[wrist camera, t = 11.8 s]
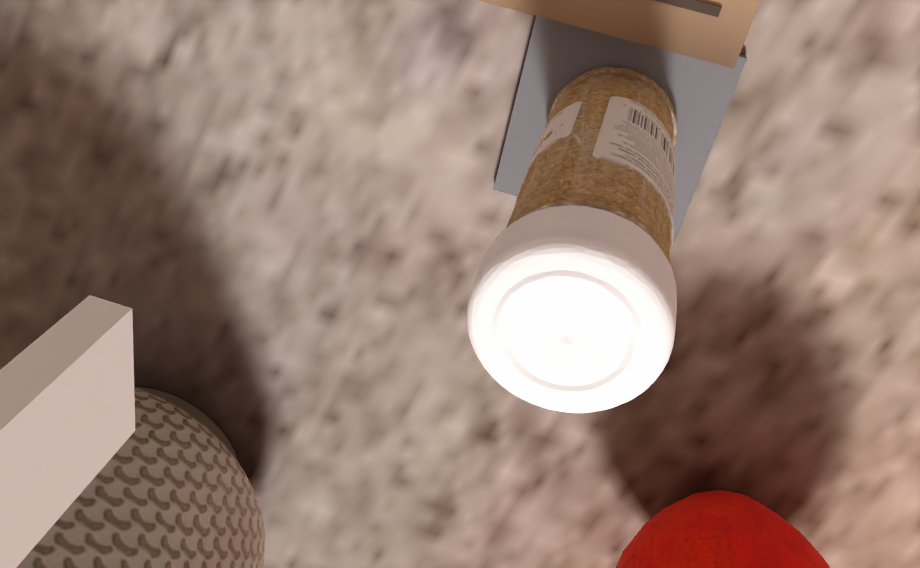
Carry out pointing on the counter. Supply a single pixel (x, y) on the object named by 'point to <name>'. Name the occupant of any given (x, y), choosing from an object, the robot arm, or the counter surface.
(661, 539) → the apple
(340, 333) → the counter surface
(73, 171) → the counter surface
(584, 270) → the spice jar
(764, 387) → the counter surface
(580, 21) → the board
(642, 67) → the end pad
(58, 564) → the planter
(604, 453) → the counter surface
